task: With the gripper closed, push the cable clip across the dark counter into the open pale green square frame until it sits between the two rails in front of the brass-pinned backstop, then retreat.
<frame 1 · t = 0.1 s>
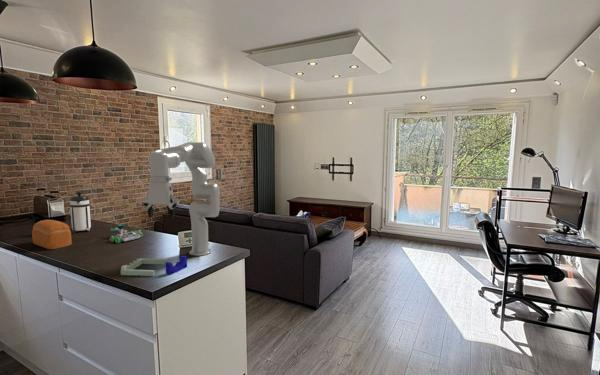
hand: (161, 217, 146), 31 cm above the table, fingers open, 9 cm apart
bread: (52, 244, 209), on the table
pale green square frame: (147, 269, 166), on the table
robot kit: (122, 239, 225), on the table
cable clip: (175, 270, 165), on the table
coffee press: (81, 230, 246), on the table
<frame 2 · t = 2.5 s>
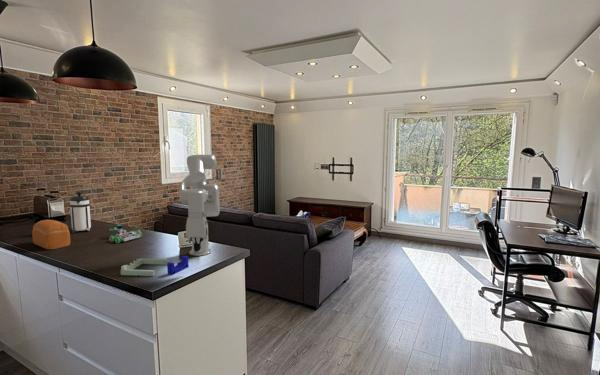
hand: (197, 250, 163), 11 cm above the table, fingers closed
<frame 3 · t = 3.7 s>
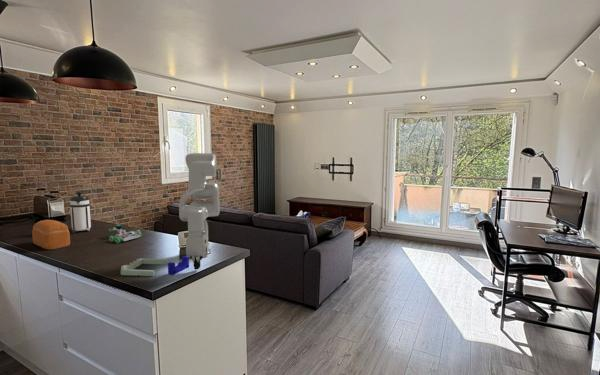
hand: (197, 268, 164), 1 cm above the table, fingers closed
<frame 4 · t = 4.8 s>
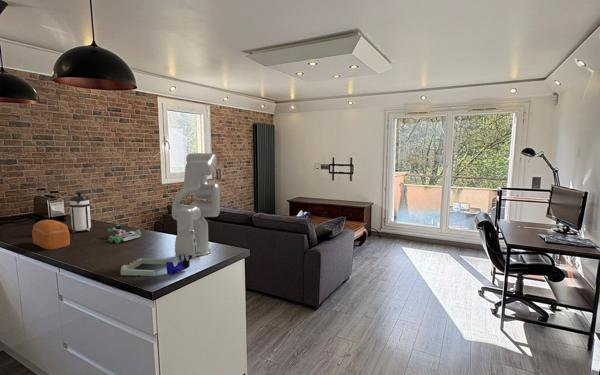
hand: (186, 267, 164), 2 cm above the table, fingers closed
cable clip: (177, 270, 165), on the table, touching gripper
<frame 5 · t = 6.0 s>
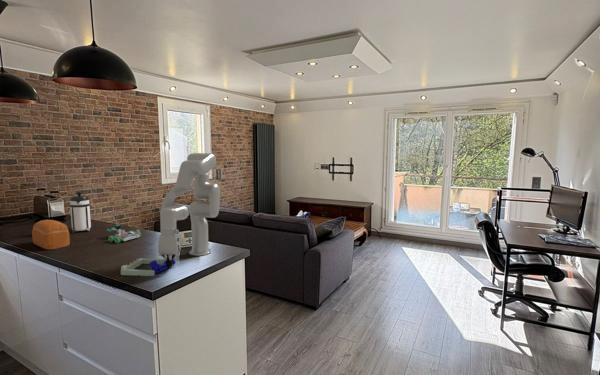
hand: (169, 267, 164), 2 cm above the table, fingers closed
cable clip: (164, 269, 165), point 1 cm above the table, touching gripper
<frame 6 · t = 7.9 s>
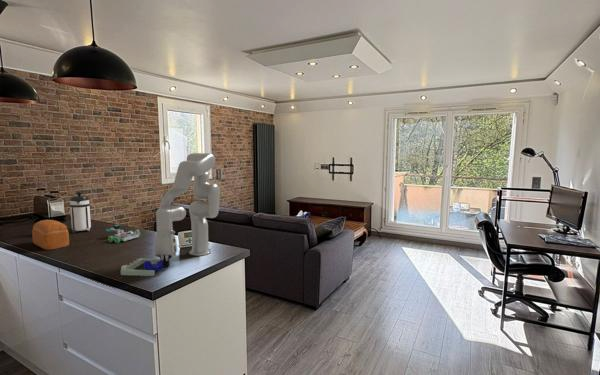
hand: (166, 267, 166), 1 cm above the table, fingers closed
cable clip: (156, 269, 166), on the table, touching gripper
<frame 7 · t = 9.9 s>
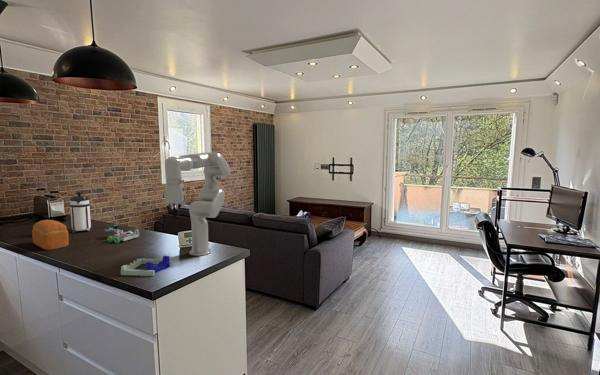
hand: (176, 216, 169), 27 cm above the table, fingers closed
cable clip: (157, 270, 166), on the table
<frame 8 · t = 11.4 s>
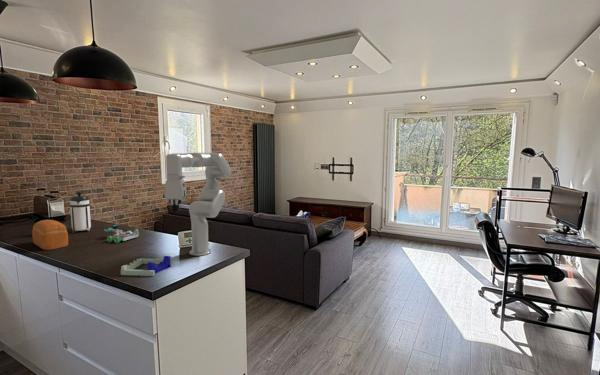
hand: (175, 212, 169), 29 cm above the table, fingers closed
at the end: cable clip inside the target area on the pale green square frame (5.8 cm from its centre), point 0.0 cm above the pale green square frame's base; cable clip moved 8.8 cm from its start; cable clip tilted 0° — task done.
